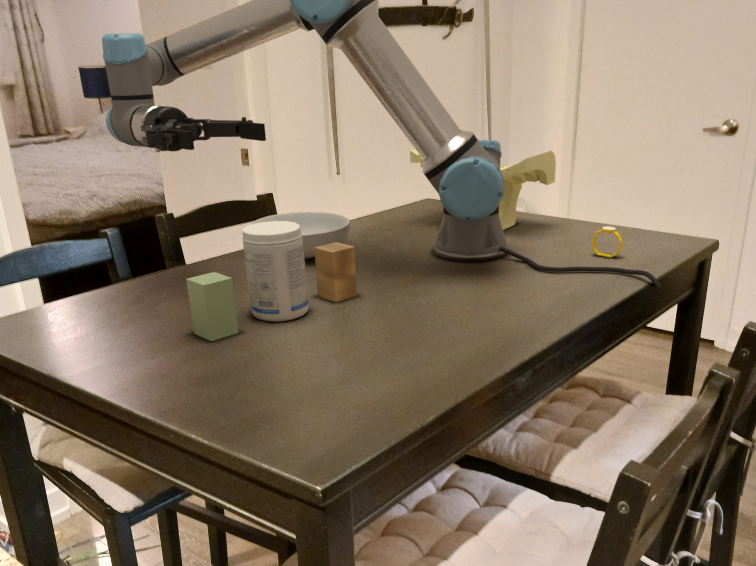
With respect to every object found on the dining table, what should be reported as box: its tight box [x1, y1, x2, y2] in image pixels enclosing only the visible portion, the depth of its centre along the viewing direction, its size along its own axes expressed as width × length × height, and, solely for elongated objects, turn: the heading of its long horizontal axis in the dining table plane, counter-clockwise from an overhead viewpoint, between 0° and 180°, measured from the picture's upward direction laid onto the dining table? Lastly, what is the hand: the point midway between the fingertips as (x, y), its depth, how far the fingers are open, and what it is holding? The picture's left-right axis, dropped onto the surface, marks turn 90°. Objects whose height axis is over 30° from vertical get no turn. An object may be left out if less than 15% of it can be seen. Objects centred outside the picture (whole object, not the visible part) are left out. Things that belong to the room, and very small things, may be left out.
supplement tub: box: [241, 221, 310, 323], centre depth 125 cm, size 10×10×15 cm
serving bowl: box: [250, 211, 351, 260], centre depth 162 cm, size 21×21×7 cm
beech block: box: [314, 242, 358, 303], centre depth 134 cm, size 5×5×9 cm
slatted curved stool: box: [409, 148, 557, 231], centre depth 181 cm, size 30×16×18 cm, turn 57°
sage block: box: [185, 271, 239, 342], centre depth 118 cm, size 5×5×9 cm
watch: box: [591, 225, 623, 259], centre depth 156 cm, size 6×3×6 cm, turn 59°
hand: (228, 136), depth 123 cm, fingers open, 13 cm apart
